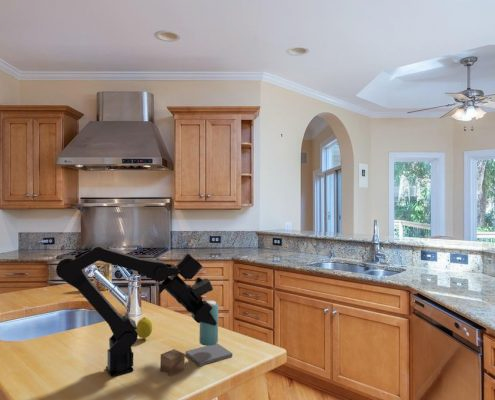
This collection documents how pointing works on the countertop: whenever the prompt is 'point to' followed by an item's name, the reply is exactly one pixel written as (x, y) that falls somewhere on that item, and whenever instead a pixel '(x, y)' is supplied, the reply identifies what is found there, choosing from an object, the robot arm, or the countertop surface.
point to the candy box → (103, 273)
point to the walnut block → (172, 362)
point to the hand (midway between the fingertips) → (212, 321)
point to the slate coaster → (208, 354)
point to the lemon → (144, 327)
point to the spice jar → (209, 328)
